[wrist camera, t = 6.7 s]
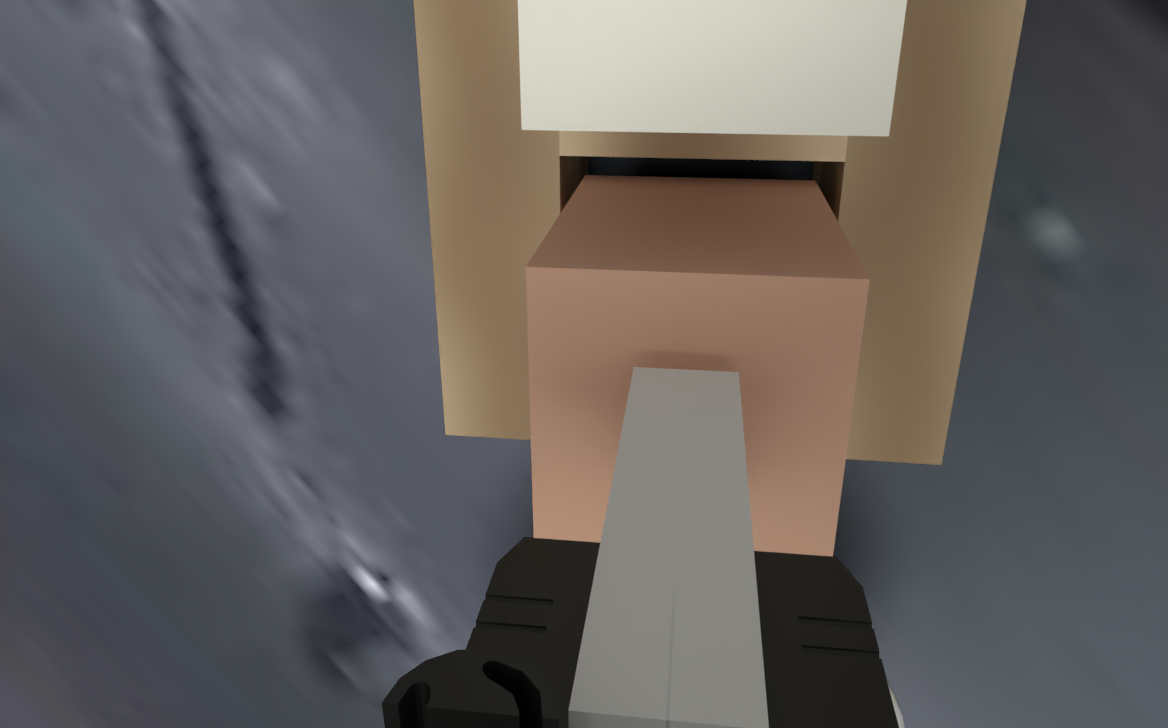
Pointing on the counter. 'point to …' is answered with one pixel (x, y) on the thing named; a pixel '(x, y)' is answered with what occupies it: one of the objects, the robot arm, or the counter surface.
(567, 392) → the terracotta key
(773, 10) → the ivory key
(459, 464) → the counter surface
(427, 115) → the light brown rectangular frame
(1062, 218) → the counter surface
